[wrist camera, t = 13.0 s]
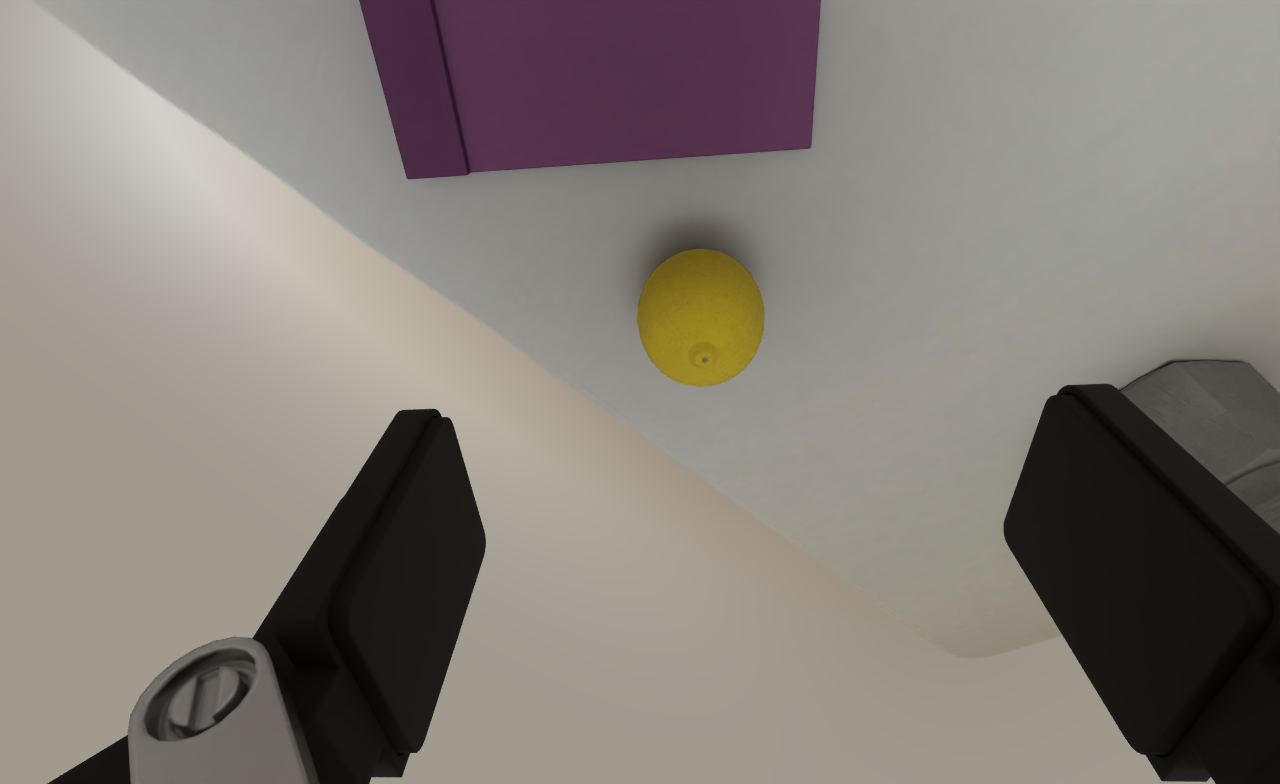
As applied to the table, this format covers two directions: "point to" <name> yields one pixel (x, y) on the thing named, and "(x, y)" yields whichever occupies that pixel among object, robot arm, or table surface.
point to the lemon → (701, 317)
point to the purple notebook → (592, 80)
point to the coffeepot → (1221, 424)
